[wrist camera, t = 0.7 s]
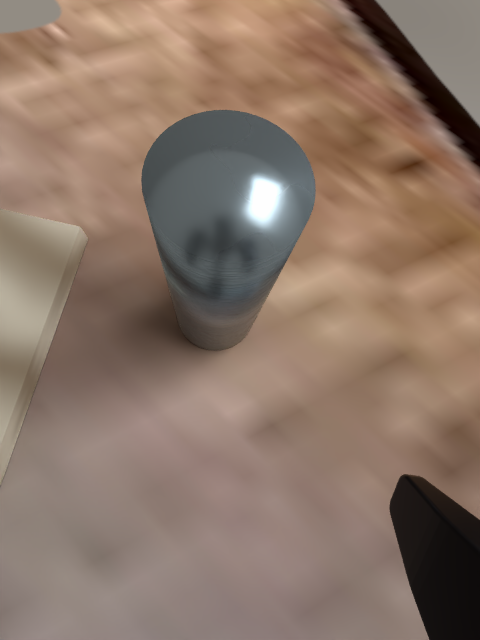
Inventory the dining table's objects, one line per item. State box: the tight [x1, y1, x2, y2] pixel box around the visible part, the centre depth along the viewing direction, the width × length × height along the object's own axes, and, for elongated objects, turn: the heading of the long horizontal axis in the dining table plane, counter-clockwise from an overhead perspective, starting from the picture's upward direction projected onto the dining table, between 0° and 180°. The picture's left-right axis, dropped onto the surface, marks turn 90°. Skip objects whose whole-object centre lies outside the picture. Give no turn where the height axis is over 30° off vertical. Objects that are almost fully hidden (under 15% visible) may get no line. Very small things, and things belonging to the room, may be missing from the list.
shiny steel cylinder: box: [141, 110, 316, 350], centre depth 16 cm, size 5×5×13 cm
